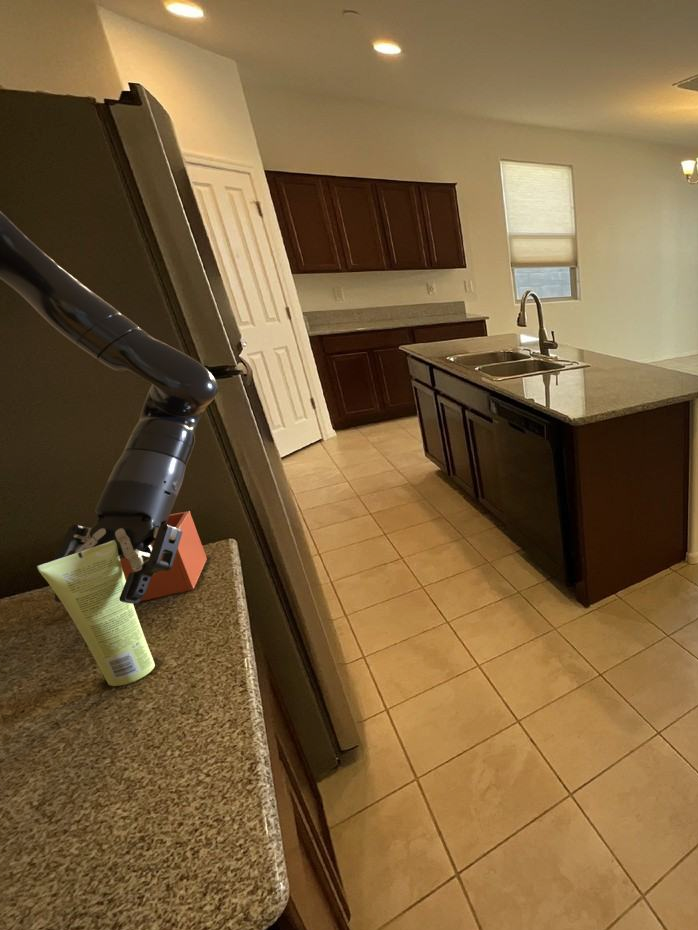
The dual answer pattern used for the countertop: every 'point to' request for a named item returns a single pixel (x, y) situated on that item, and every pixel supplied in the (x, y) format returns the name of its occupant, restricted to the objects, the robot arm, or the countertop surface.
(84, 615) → the tube
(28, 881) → the countertop surface
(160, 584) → the trash bin
